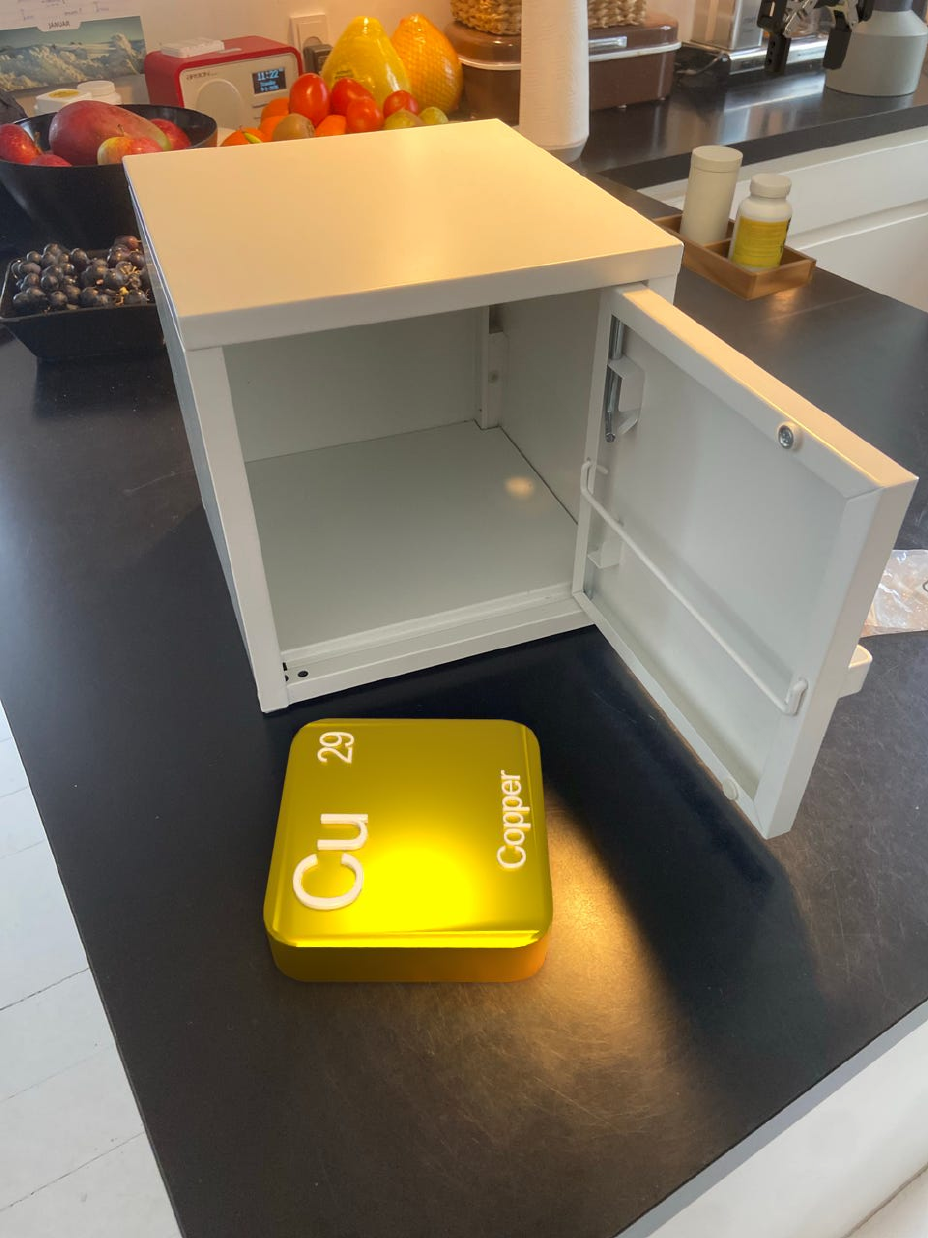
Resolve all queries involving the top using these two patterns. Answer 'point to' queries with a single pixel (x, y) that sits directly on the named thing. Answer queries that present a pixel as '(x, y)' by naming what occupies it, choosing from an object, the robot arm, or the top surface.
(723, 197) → the beige lidded canister
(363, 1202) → the top surface
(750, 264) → the pill bottle
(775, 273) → the tray
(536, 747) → the element tile
